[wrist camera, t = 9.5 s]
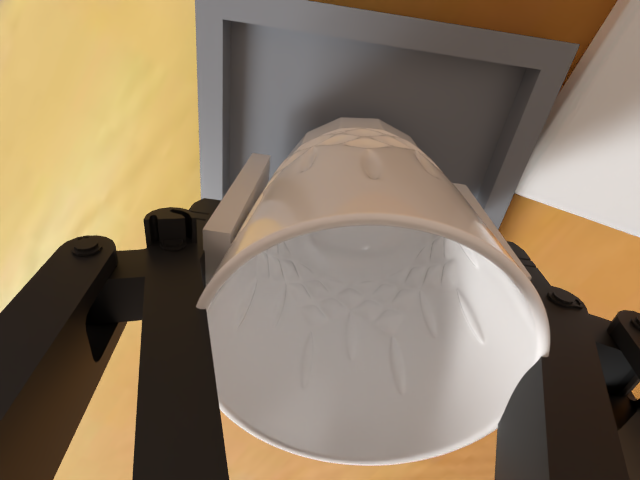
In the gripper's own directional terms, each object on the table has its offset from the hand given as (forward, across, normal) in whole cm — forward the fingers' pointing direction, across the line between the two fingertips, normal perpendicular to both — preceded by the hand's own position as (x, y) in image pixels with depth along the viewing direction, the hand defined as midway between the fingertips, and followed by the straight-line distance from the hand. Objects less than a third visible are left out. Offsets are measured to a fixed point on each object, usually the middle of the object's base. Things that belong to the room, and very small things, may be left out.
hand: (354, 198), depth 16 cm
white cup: (+1, 0, 0) cm, 1 cm away
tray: (+3, 0, 0) cm, 3 cm away
